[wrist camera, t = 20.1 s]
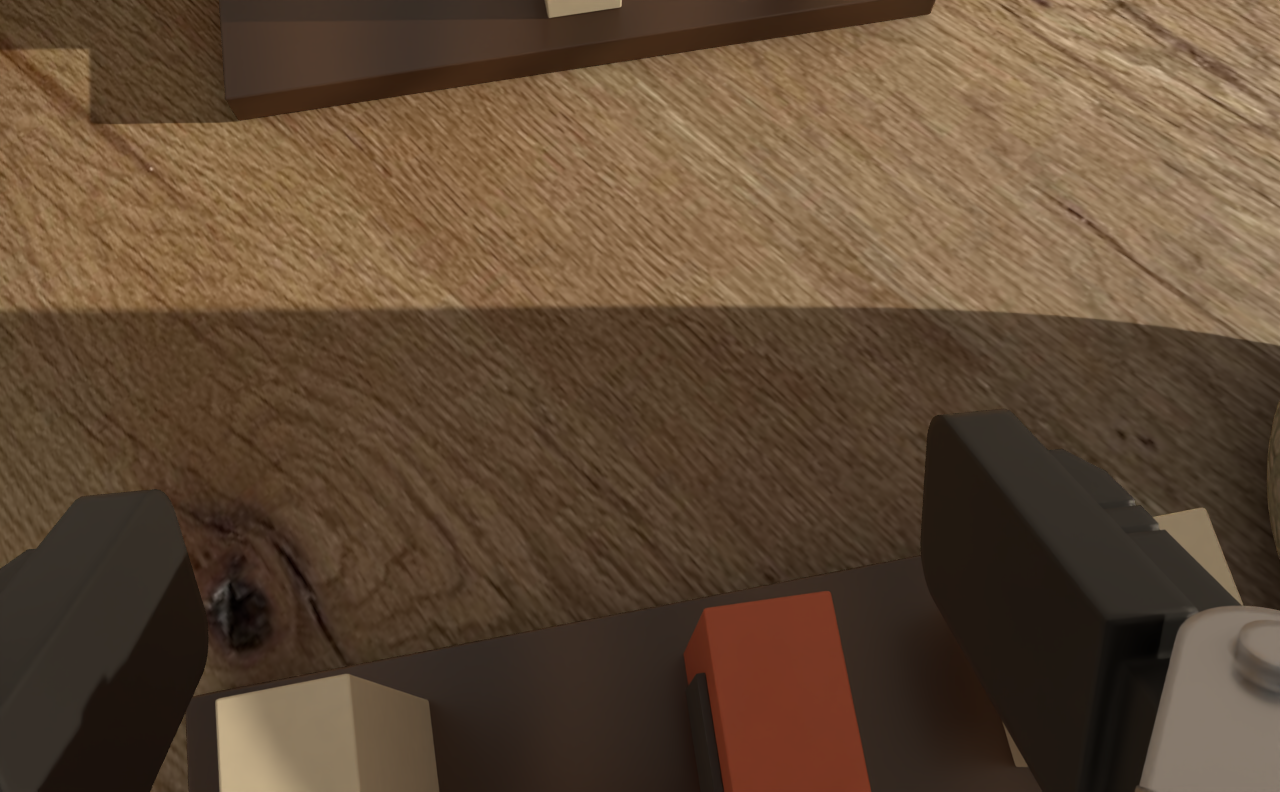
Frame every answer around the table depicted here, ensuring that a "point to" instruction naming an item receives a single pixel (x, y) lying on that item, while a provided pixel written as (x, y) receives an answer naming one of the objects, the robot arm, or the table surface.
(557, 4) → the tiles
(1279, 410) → the planter
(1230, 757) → the robot arm
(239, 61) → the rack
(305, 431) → the table surface
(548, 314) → the table surface
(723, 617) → the tall orange-red rectangular prism
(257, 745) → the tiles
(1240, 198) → the table surface
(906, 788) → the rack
